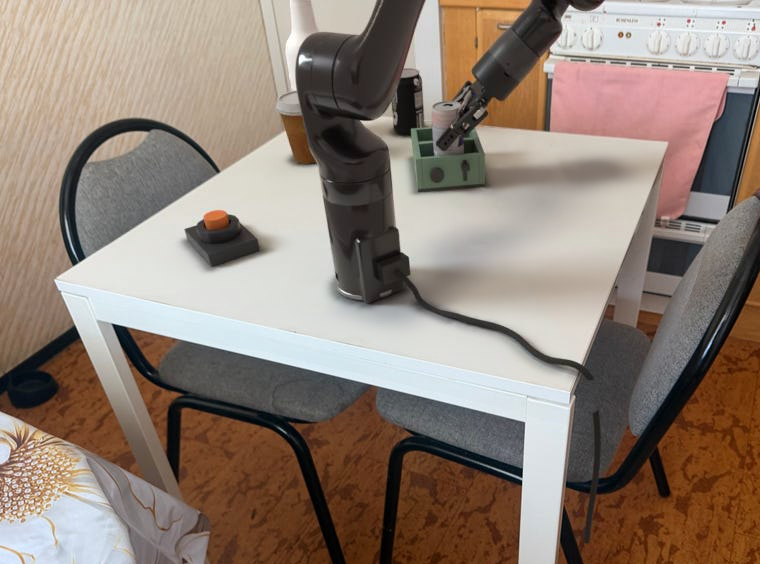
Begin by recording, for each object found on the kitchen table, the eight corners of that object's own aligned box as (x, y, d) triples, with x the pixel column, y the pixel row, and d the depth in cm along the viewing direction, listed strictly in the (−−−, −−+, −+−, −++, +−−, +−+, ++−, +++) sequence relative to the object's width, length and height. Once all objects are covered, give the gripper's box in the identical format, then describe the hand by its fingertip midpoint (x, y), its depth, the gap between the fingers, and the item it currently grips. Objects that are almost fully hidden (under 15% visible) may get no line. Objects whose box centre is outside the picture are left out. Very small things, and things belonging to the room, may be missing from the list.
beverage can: (389, 129, 149) (384, 71, 142) (417, 123, 151) (413, 65, 144) (401, 138, 144) (396, 79, 137) (430, 132, 146) (426, 73, 139)
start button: (232, 225, 109) (230, 215, 108) (210, 232, 107) (208, 222, 106) (224, 217, 111) (221, 207, 110) (202, 224, 110) (199, 214, 108)
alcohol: (345, 140, 145) (323, -21, 127) (303, 147, 144) (275, -16, 125) (337, 127, 152) (316, -28, 134) (297, 133, 150) (270, -23, 132)
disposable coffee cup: (278, 165, 137) (265, 103, 129) (299, 147, 144) (288, 87, 136) (322, 168, 134) (312, 105, 127) (341, 150, 141) (333, 89, 134)
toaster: (474, 153, 136) (473, 123, 132) (486, 190, 123) (486, 157, 119) (413, 158, 136) (410, 128, 132) (418, 195, 122) (416, 163, 119)
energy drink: (467, 167, 127) (465, 101, 120) (460, 179, 123) (458, 111, 116) (439, 166, 129) (435, 100, 121) (431, 177, 125) (427, 110, 117)
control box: (260, 251, 109) (254, 228, 107) (211, 267, 106) (204, 244, 104) (234, 226, 117) (228, 204, 114) (187, 241, 113) (180, 218, 111)
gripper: (483, 38, 119) (419, 114, 126) (496, 60, 108) (424, 143, 115) (514, 67, 123) (449, 140, 130) (529, 92, 111) (457, 170, 118)
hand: (438, 141), depth 122 cm, fingers closed on energy drink, 5 cm apart
